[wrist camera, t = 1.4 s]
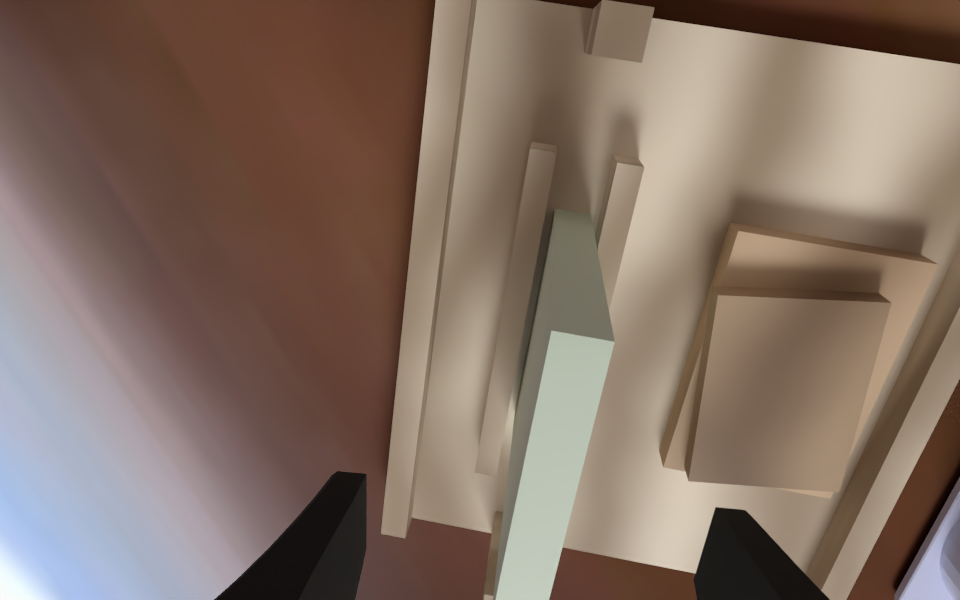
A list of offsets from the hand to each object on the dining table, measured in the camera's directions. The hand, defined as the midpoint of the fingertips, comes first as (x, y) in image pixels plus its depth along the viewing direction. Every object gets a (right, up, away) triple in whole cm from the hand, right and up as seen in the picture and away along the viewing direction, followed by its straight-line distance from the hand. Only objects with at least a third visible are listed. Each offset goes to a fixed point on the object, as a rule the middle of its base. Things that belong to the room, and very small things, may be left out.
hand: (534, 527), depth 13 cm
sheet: (+1, +4, +9) cm, 10 cm away
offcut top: (+9, +2, +8) cm, 12 cm away
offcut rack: (+5, +4, +10) cm, 12 cm away
